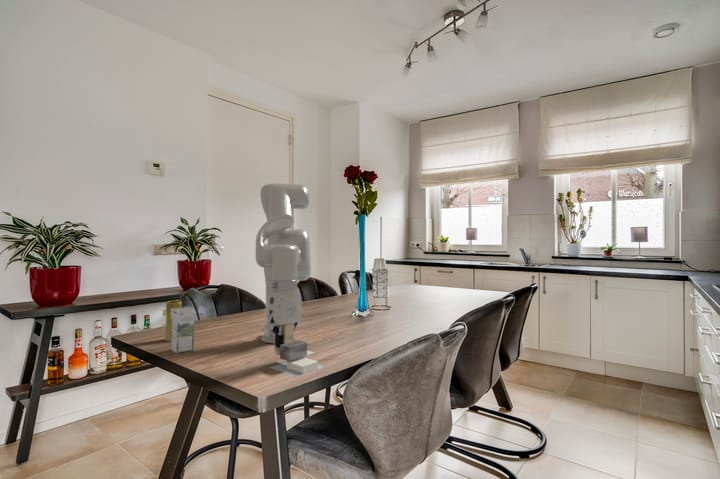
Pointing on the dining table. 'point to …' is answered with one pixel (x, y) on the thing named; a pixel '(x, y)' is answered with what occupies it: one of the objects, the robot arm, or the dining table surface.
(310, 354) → the coaster
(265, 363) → the dining table surface
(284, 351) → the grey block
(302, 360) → the tile
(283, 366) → the mat
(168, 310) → the vase
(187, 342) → the syrup box
